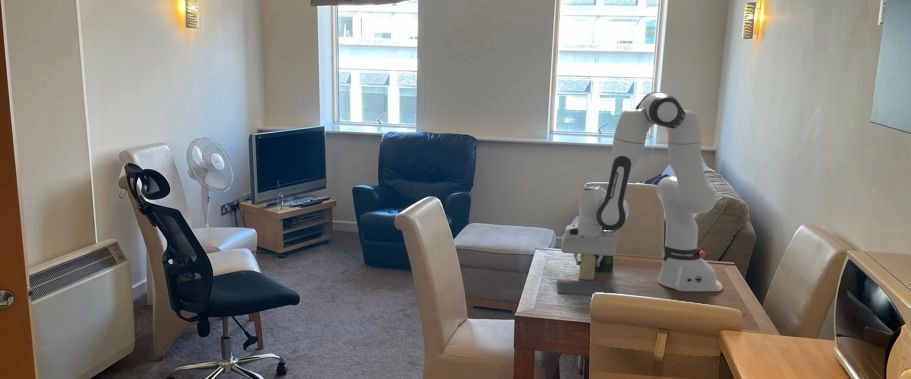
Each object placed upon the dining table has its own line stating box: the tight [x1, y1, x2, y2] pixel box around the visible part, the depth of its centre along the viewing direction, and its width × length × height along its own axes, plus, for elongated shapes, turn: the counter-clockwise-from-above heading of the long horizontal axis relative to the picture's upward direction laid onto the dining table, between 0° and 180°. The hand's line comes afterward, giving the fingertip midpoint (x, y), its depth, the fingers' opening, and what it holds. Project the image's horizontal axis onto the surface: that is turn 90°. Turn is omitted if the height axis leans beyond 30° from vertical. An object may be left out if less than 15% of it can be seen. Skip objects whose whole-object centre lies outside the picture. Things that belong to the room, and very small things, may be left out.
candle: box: [579, 254, 596, 281], centre depth 259 cm, size 6×6×10 cm
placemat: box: [556, 279, 605, 297], centre depth 248 cm, size 16×14×1 cm
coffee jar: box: [595, 228, 616, 273], centre depth 270 cm, size 10×8×19 cm
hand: (587, 265), depth 259 cm, fingers closed on candle, 5 cm apart
